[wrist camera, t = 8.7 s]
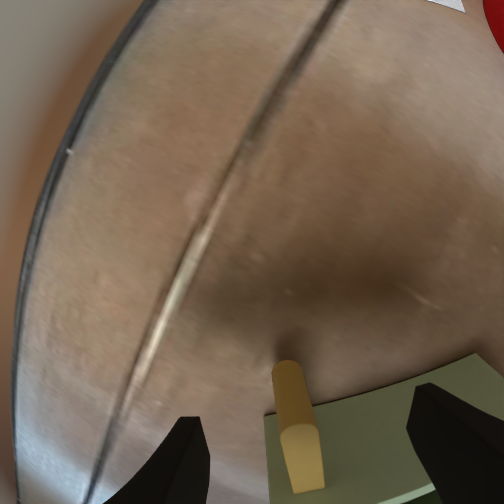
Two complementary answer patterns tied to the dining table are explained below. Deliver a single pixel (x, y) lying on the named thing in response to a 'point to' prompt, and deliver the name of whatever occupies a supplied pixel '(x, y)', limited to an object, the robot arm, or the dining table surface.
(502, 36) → the decorative ornament
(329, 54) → the dining table surface
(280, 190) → the dining table surface
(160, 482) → the robot arm
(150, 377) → the dining table surface
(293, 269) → the dining table surface
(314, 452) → the cupboard door
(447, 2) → the white paper sheet
